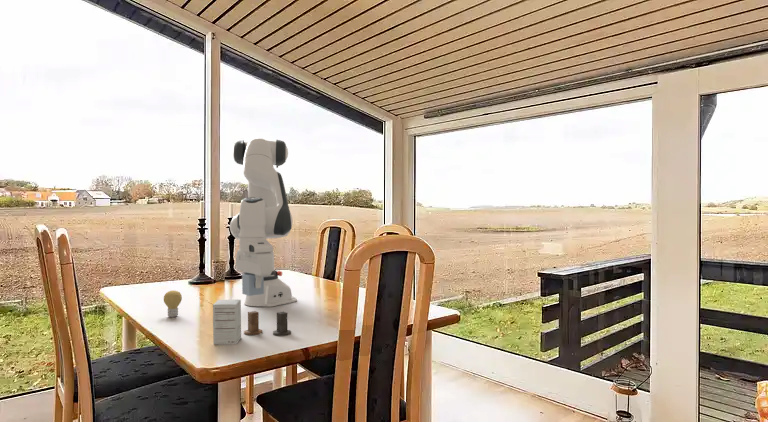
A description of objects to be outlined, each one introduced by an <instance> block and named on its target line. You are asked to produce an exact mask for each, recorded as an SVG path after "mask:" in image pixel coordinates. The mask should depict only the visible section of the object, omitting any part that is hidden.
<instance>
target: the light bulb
mask: <svg viewBox="0 0 768 422" xmlns="http://www.w3.org/2000/svg"><path fill="white" fill-rule="evenodd" d="M182 298H183V297H182V293H181V292H180V291H178V290H175V289H174V290H169V291H167V292H166V293H165V294H164V295H163V303H164V304H165V306H167V317H169V318H175V317H177V316H178V315H179V306H180V304H181V302H182V300H183V299H182Z"/></svg>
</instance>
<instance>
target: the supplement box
mask: <svg viewBox="0 0 768 422" xmlns="http://www.w3.org/2000/svg"><path fill="white" fill-rule="evenodd" d="M241 301H242V300H241V299H217V301H215V302H214V303H213V304H212V335H213V336H212V338H213V340H212V343H213V345H238V342H239V341H240V340H241V338H242V307H241V306H242V305H241V303H242V302H241Z"/></svg>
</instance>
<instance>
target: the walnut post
mask: <svg viewBox="0 0 768 422" xmlns="http://www.w3.org/2000/svg"><path fill="white" fill-rule="evenodd" d="M259 314H260V313H259V311H256V310H254V311H248V312H247V329H245V330H244V331H243V334H244V335H245V336H258V335H261V334H263V329H261V328H260V327H259V325H260V324H259V323H260V322H259V320H260V318H259V316H260V315H259Z"/></svg>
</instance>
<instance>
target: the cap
mask: <svg viewBox="0 0 768 422" xmlns="http://www.w3.org/2000/svg"><path fill="white" fill-rule="evenodd" d="M241 277H242V279H241V281H242V283H241V284H242V285H241V286H242V290H241V291H242V293H241V294H243V295H245V296H246V295H248V296H252V295H260V294H264V276H263V279H262V282H261V288H255V287H254V283H255V281H256V278H255V275H254V274H250V273H249V274H244V273H242V274H241Z"/></svg>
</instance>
